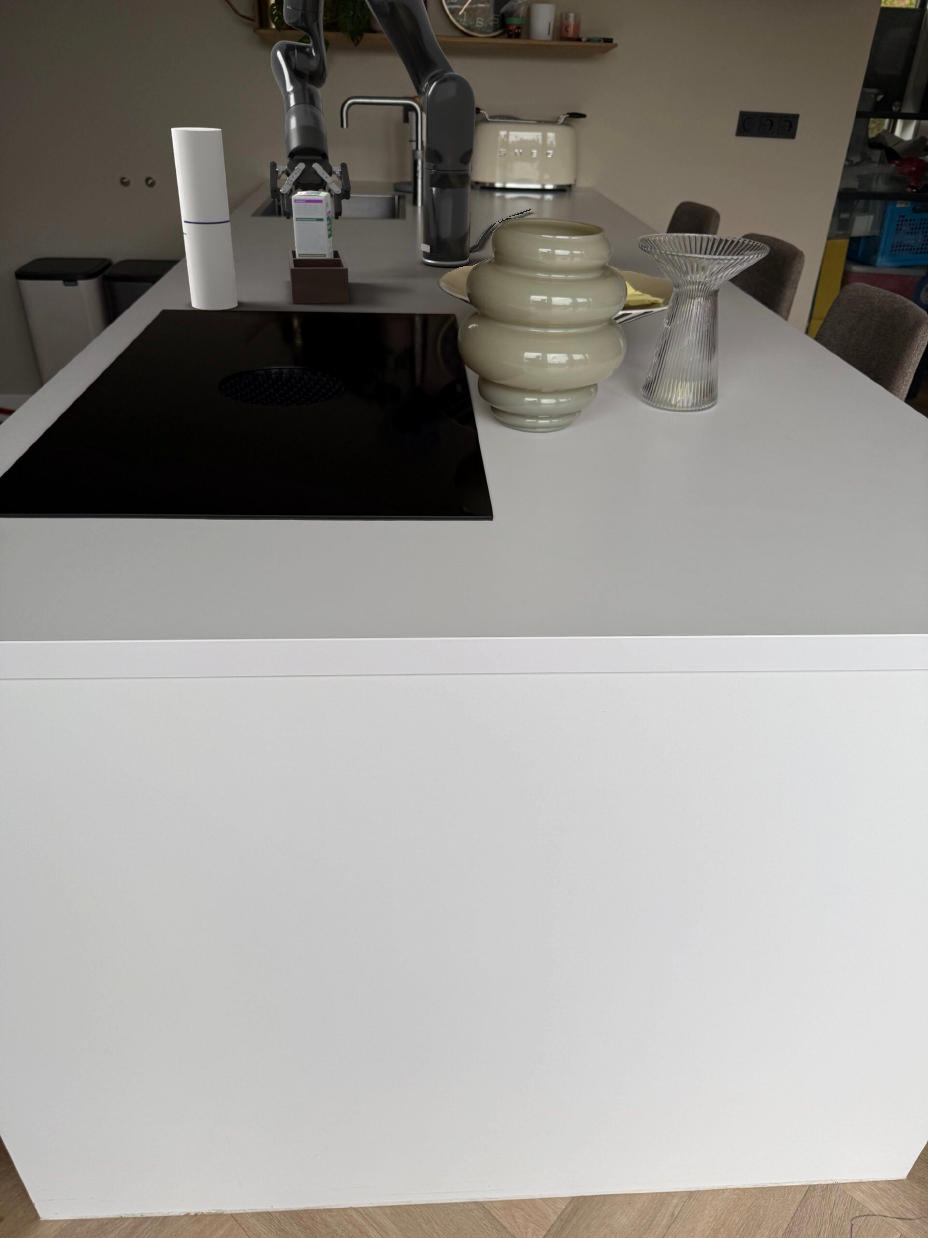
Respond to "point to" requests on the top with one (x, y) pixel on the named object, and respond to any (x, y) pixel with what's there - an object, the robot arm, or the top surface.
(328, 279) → the compartment organizer box
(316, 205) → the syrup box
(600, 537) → the top surface
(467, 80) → the robot arm
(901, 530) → the top surface
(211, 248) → the cylindrical container
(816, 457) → the top surface
